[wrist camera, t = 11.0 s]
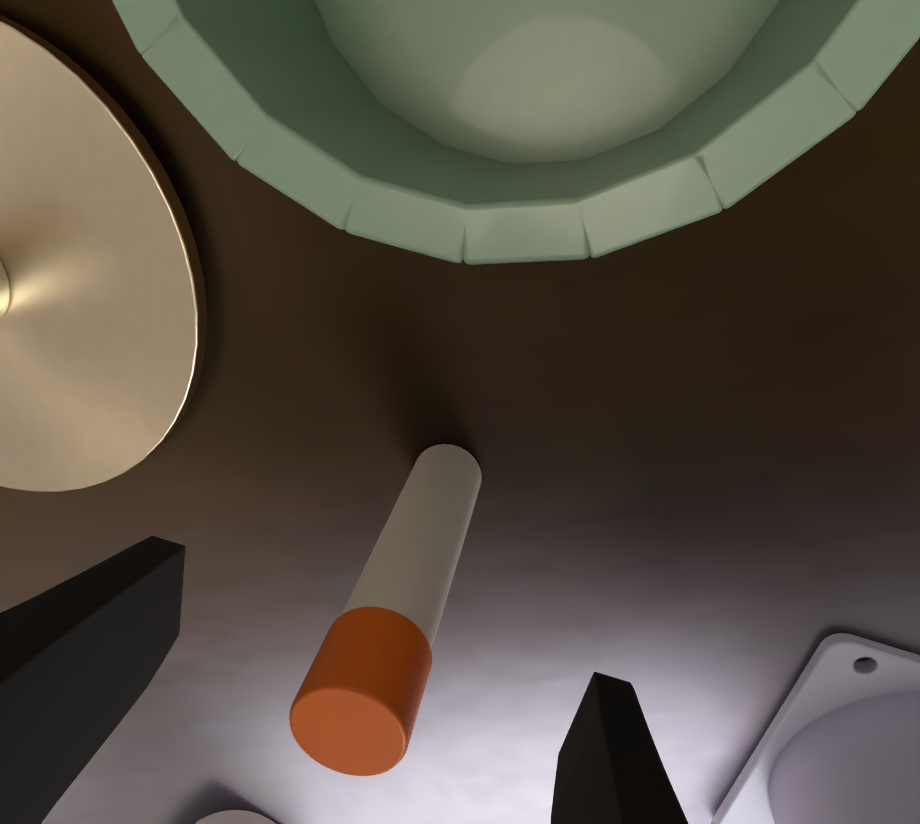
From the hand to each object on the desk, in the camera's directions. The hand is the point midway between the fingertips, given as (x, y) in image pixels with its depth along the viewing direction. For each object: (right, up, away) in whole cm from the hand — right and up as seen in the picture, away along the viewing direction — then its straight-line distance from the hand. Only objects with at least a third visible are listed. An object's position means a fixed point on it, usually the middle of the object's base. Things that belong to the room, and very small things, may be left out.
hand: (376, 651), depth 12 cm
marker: (+1, +3, +6) cm, 6 cm away
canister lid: (-10, +7, +5) cm, 13 cm away
